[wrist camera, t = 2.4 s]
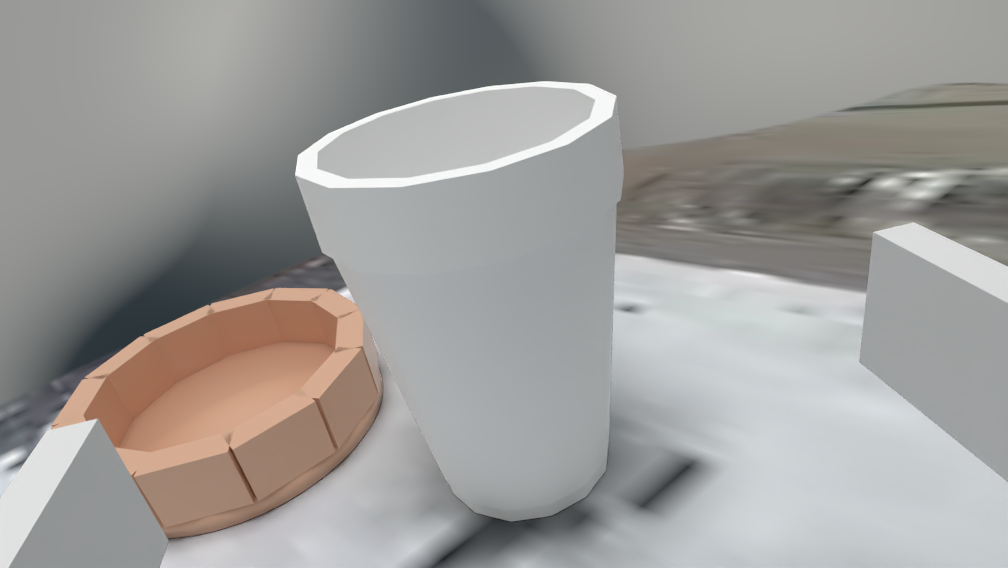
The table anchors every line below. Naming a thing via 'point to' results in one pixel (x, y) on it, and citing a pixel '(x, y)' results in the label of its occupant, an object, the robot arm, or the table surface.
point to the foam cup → (486, 277)
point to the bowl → (236, 404)
